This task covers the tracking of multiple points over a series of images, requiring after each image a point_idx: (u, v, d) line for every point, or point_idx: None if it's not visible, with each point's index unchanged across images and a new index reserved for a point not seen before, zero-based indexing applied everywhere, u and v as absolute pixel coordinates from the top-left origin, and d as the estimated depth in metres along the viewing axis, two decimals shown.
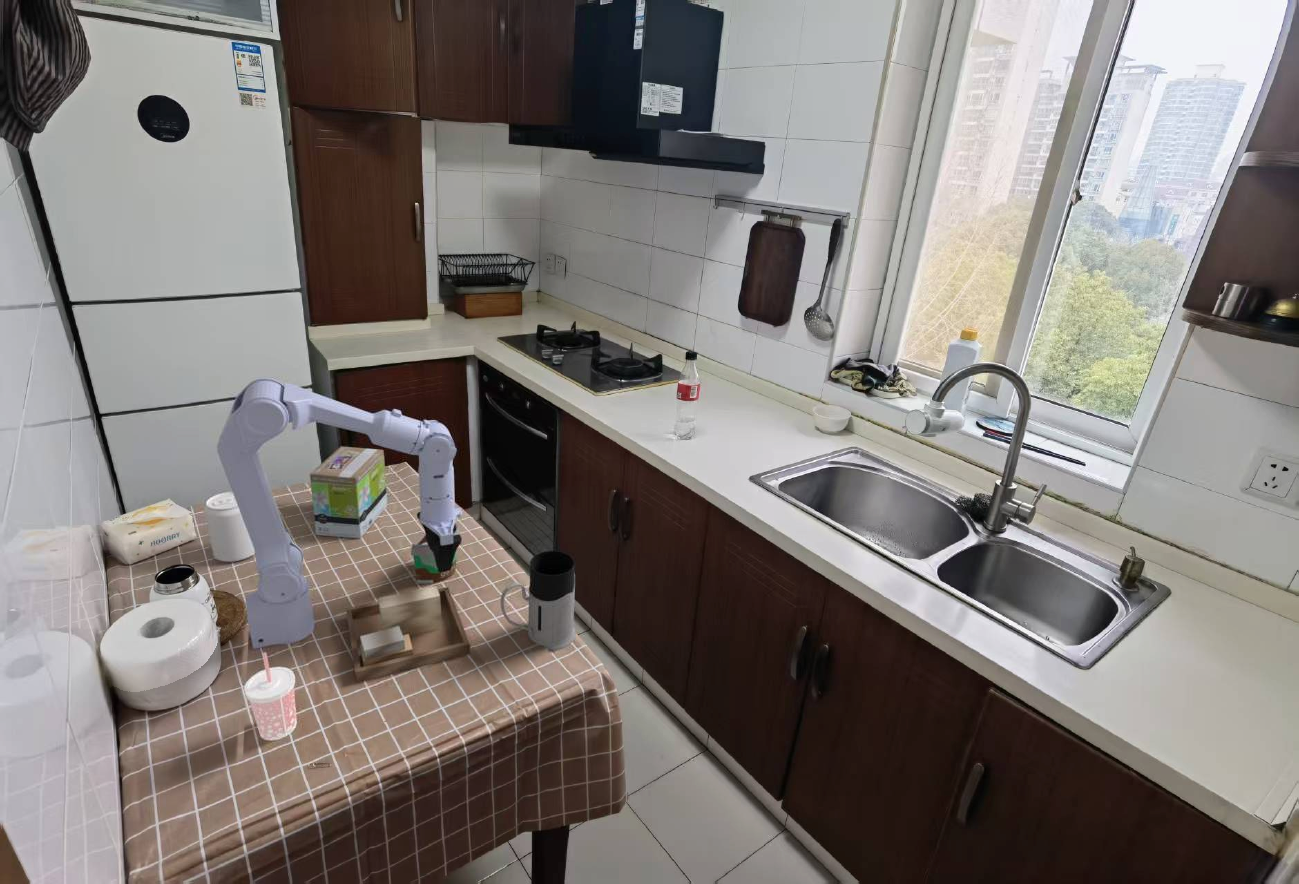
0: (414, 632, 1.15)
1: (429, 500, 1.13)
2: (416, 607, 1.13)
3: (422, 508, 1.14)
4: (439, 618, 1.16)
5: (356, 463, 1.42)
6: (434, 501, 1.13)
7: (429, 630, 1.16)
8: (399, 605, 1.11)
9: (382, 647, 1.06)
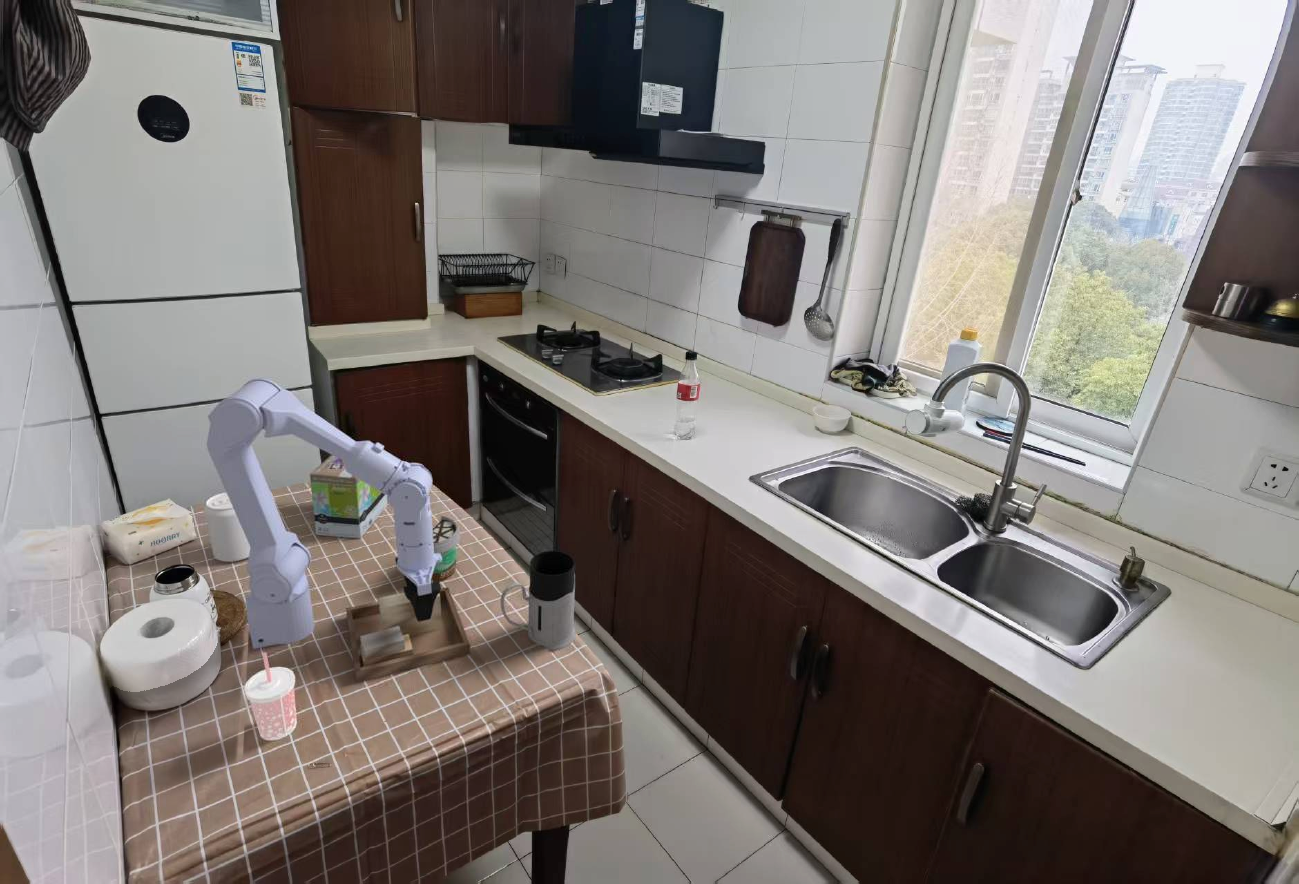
0: (414, 632, 1.15)
1: (406, 547, 1.07)
2: None
3: (399, 555, 1.09)
4: (439, 618, 1.16)
5: None
6: (411, 548, 1.07)
7: (429, 630, 1.16)
8: (399, 605, 1.11)
9: (382, 647, 1.06)
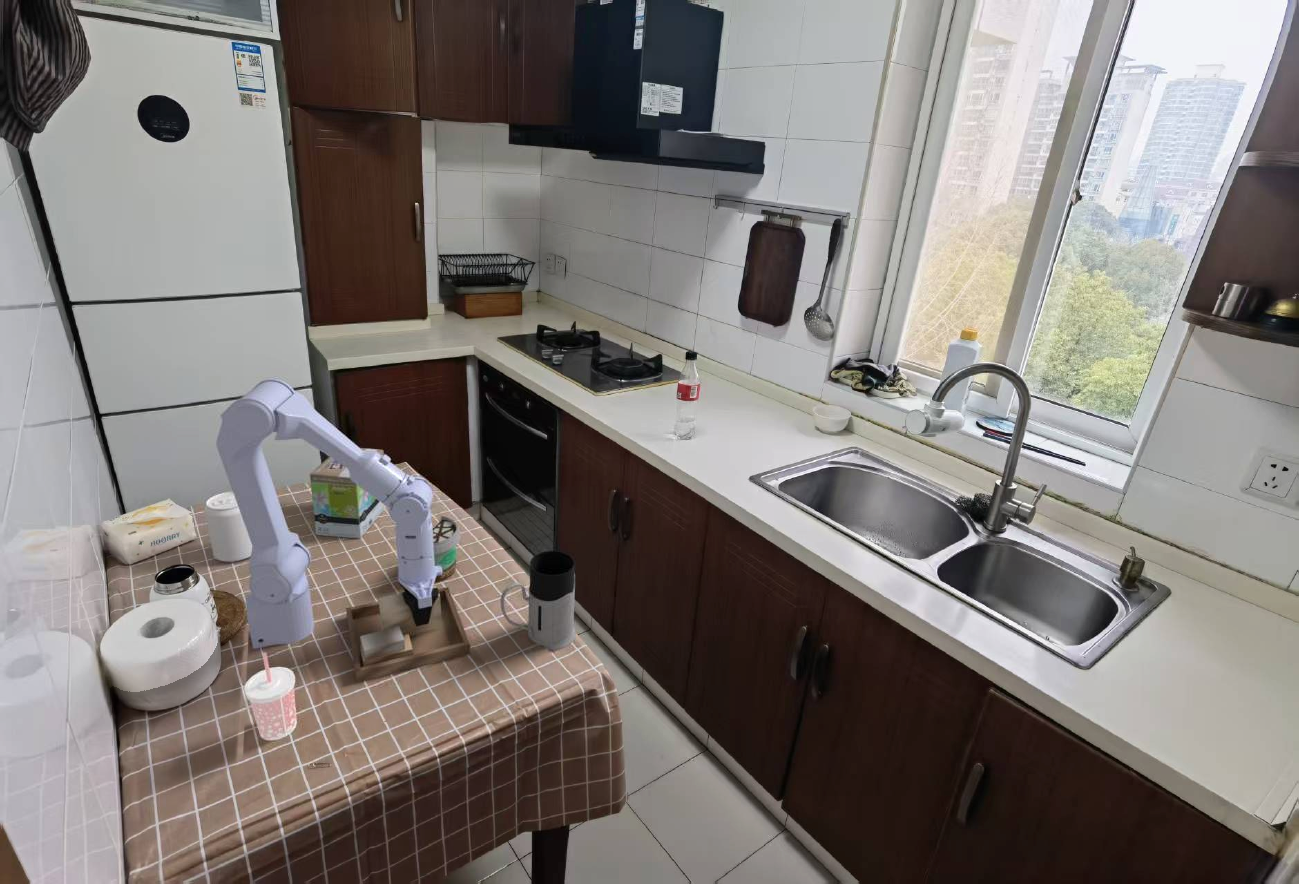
0: (414, 632, 1.15)
1: (407, 560, 1.08)
2: None
3: (400, 568, 1.09)
4: (439, 618, 1.16)
5: None
6: (412, 561, 1.08)
7: (429, 630, 1.16)
8: (399, 605, 1.11)
9: (382, 647, 1.06)
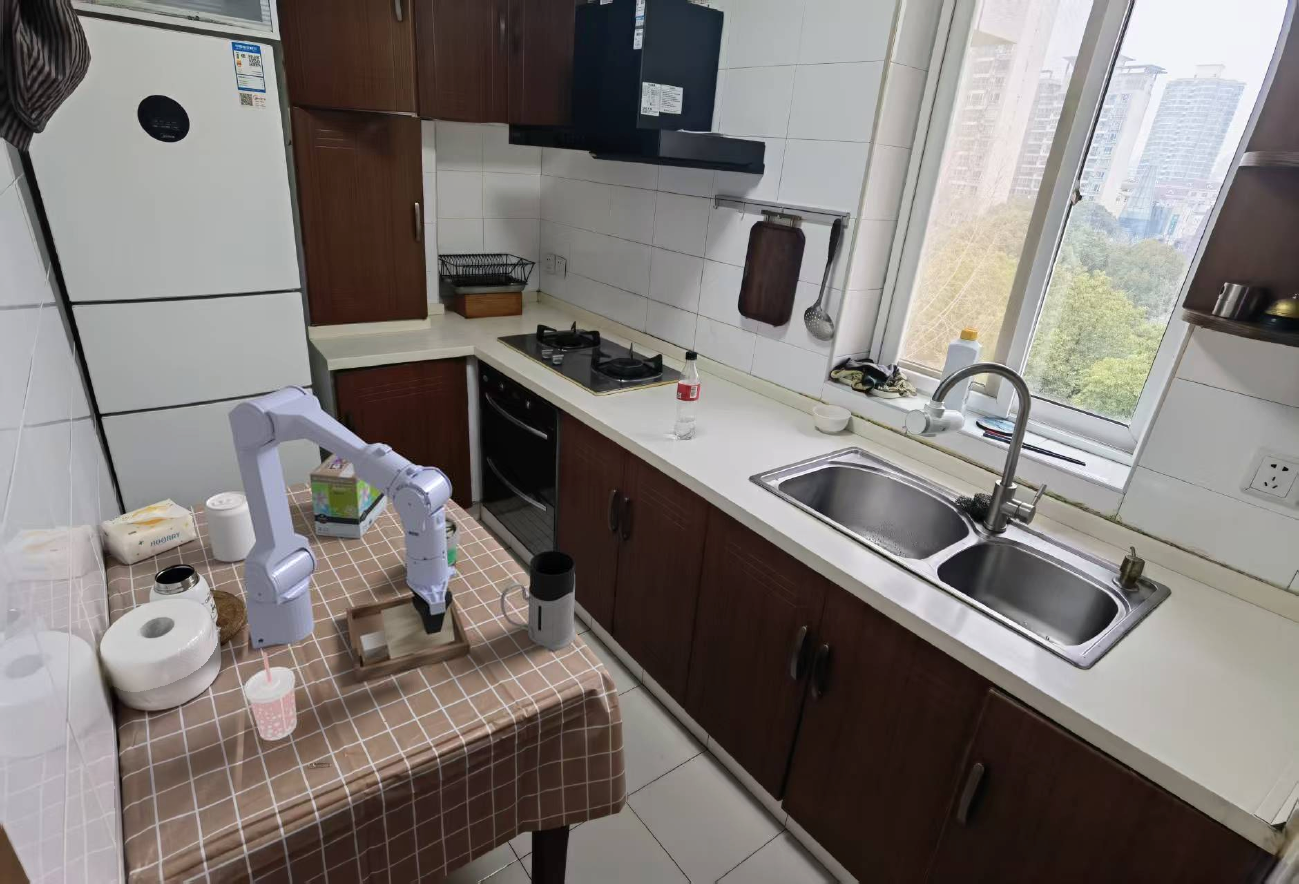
0: (424, 646, 1.03)
1: (417, 561, 0.96)
2: None
3: (409, 569, 0.97)
4: (450, 629, 1.04)
5: None
6: (423, 562, 0.96)
7: (440, 643, 1.04)
8: (404, 617, 0.99)
9: (382, 647, 1.06)
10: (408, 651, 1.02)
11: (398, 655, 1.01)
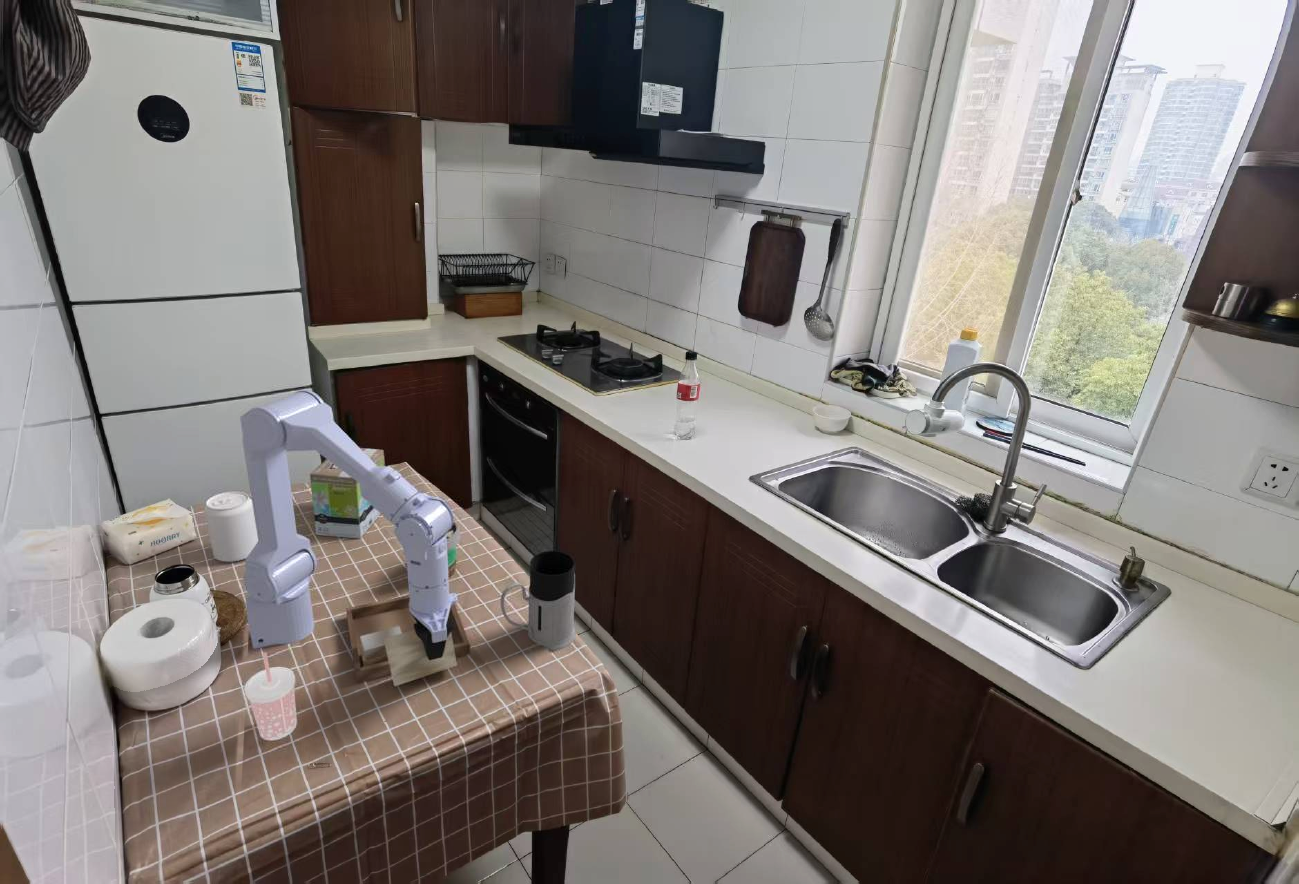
0: (427, 672, 1.04)
1: (419, 589, 0.97)
2: None
3: (411, 597, 0.99)
4: (452, 655, 1.05)
5: None
6: (425, 590, 0.97)
7: (443, 668, 1.05)
8: (406, 645, 1.01)
9: (382, 647, 1.06)
10: (411, 678, 1.03)
11: (402, 682, 1.03)
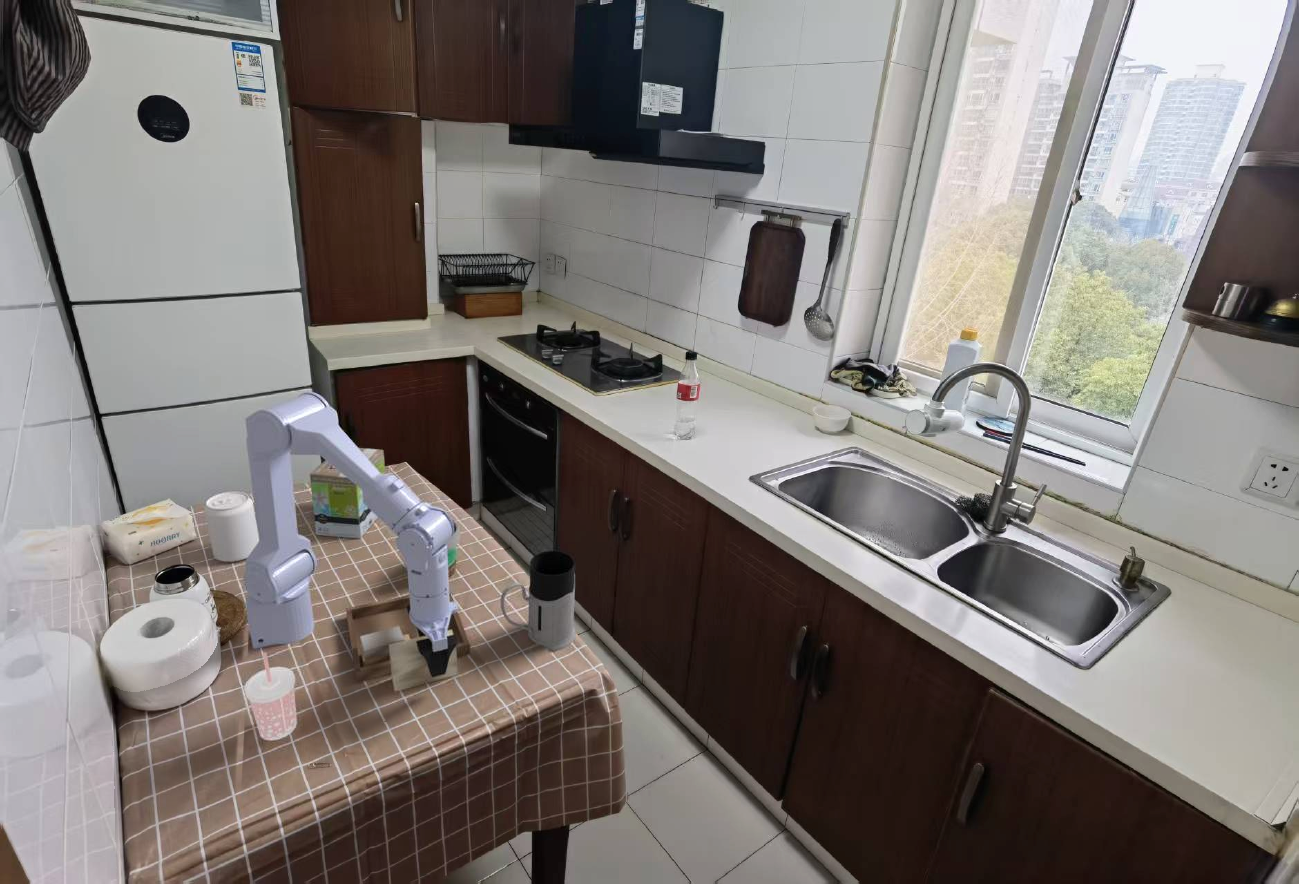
0: (427, 681, 1.05)
1: (419, 598, 0.98)
2: None
3: (412, 606, 0.99)
4: (454, 665, 1.06)
5: None
6: (425, 599, 0.98)
7: None
8: (411, 652, 1.02)
9: (382, 647, 1.06)
10: (412, 685, 1.04)
11: (402, 689, 1.03)
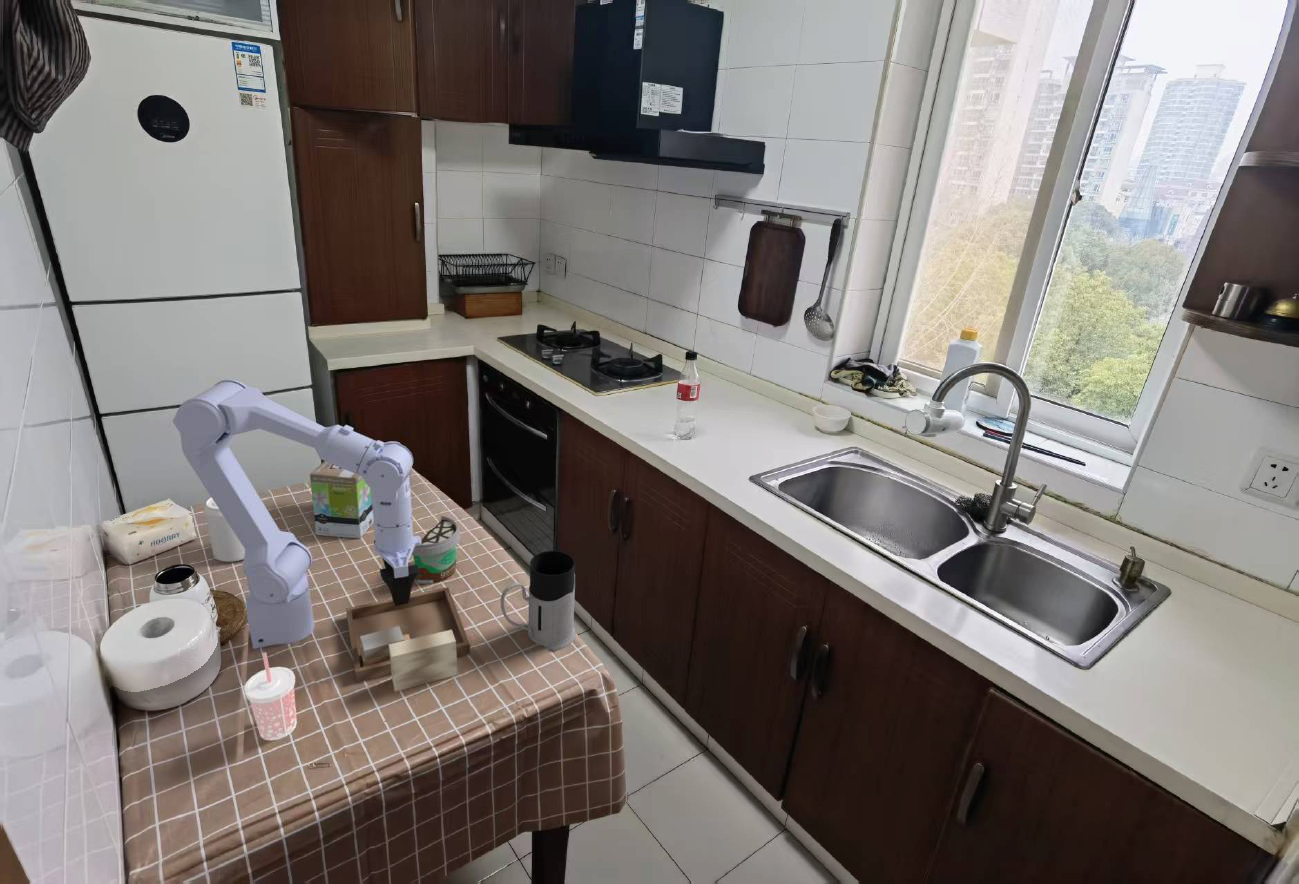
0: (427, 681, 1.05)
1: (383, 528, 1.04)
2: (429, 655, 1.03)
3: (376, 536, 1.05)
4: (454, 665, 1.06)
5: None
6: (388, 529, 1.04)
7: None
8: (411, 652, 1.02)
9: (382, 647, 1.06)
10: (412, 685, 1.04)
11: (402, 689, 1.03)
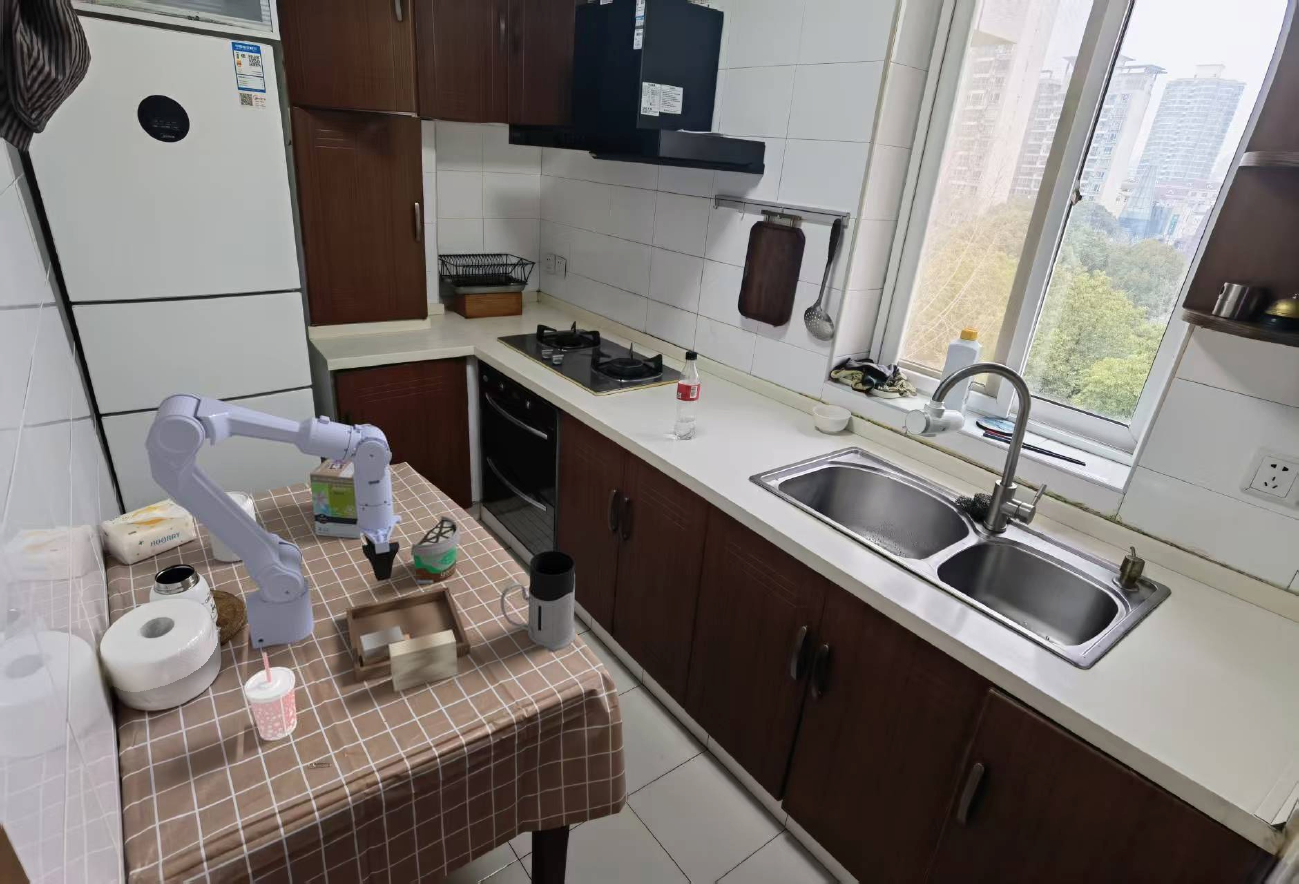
0: (427, 681, 1.05)
1: (364, 507, 1.09)
2: (429, 655, 1.03)
3: (358, 515, 1.11)
4: (454, 665, 1.06)
5: None
6: (369, 508, 1.09)
7: None
8: (411, 652, 1.02)
9: (382, 647, 1.06)
10: (412, 685, 1.04)
11: (402, 689, 1.03)
